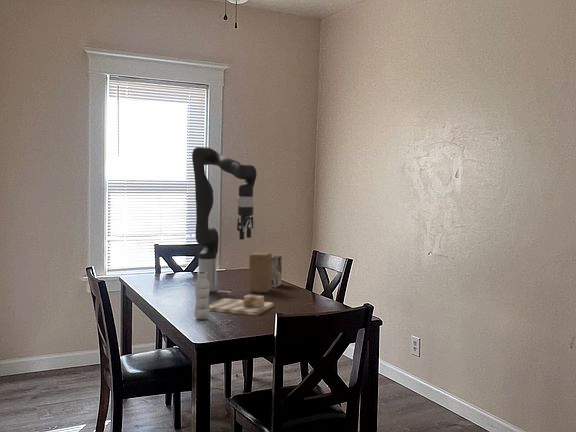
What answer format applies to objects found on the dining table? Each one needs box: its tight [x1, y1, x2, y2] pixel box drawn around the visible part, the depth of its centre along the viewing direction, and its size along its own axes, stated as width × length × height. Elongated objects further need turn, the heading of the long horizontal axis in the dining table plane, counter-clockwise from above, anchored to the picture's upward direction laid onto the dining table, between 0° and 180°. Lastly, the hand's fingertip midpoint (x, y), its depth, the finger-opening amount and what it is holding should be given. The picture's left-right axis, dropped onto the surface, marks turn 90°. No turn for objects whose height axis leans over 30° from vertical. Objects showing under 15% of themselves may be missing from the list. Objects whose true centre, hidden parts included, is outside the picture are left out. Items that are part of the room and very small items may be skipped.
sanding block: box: [243, 294, 265, 308], centre depth 267 cm, size 8×5×4 cm, turn 70°
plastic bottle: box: [193, 271, 211, 321], centre depth 247 cm, size 6×7×20 cm
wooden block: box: [248, 251, 273, 294], centre depth 308 cm, size 10×10×20 cm
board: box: [209, 297, 274, 316], centre depth 269 cm, size 26×20×2 cm
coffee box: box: [271, 255, 283, 288], centre depth 323 cm, size 9×6×16 cm
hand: (245, 238), depth 288 cm, fingers open, 8 cm apart
